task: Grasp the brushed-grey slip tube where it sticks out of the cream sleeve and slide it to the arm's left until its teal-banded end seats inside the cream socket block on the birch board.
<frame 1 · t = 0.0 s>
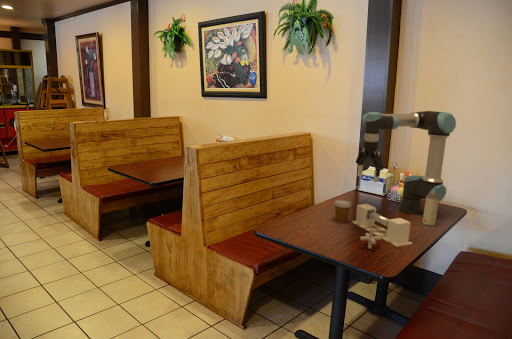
hand: (367, 179, 207), 28 cm above the table, fingers open, 13 cm apart
board: (379, 232, 205), on the table
tube: (376, 217, 207), point 7 cm above the table, slide at 0.0 cm
socket: (397, 241, 194), resting on board
sleeve: (364, 224, 216), resting on board
aerosol can: (428, 224, 220), on the table
disposable coffee cup: (341, 221, 221), on the table
pipe connector: (369, 248, 185), on the table
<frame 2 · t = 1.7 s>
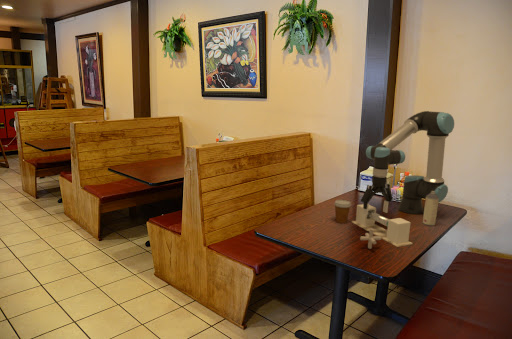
hand: (375, 213, 207), 10 cm above the table, fingers open, 13 cm apart
nothing on the table moved.
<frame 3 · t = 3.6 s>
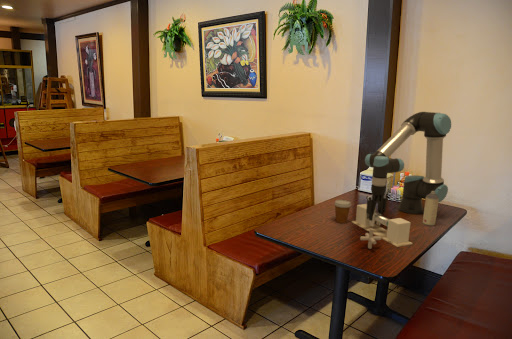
hand: (374, 225, 209), 3 cm above the table, fingers closed on tube, 4 cm apart
tube: (376, 217, 207), point 8 cm above the table, slide at 0.0 cm, touching gripper
everything else where it was.
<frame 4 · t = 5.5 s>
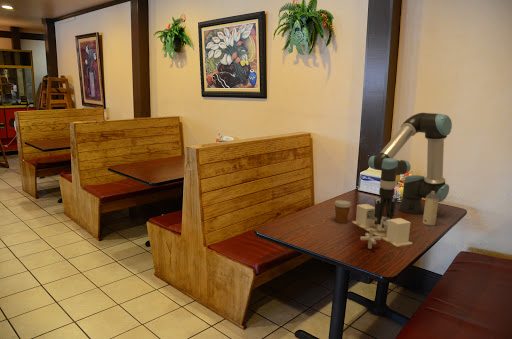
hand: (382, 229, 203), 3 cm above the table, fingers closed on tube, 4 cm apart
tube: (384, 220, 201), point 8 cm above the table, slide at 6.5 cm, touching gripper
everything else where it was.
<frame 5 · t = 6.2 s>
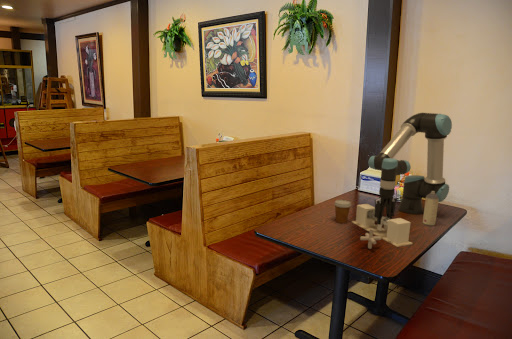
hand: (382, 229, 203), 3 cm above the table, fingers closed on tube, 4 cm apart
tube: (384, 220, 201), point 7 cm above the table, slide at 6.5 cm, touching gripper
everything else where it was.
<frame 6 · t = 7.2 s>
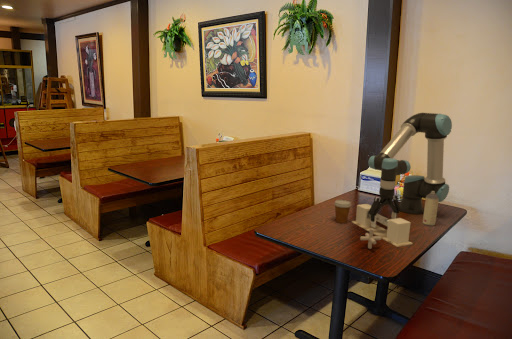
hand: (383, 225, 202), 5 cm above the table, fingers open, 13 cm apart
tube: (384, 220, 201), point 8 cm above the table, slide at 6.5 cm
everything else where it was.
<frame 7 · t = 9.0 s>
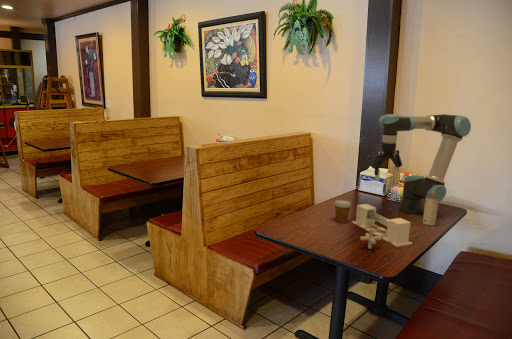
hand: (386, 179, 213), 27 cm above the table, fingers open, 13 cm apart
nothing on the table moved.
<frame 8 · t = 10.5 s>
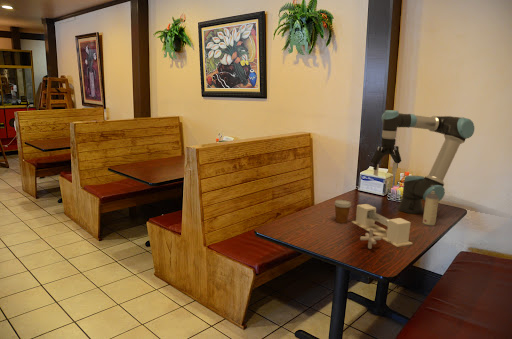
hand: (384, 174, 216), 29 cm above the table, fingers open, 13 cm apart
nothing on the table moved.
at the end: tube slide at 6.5 cm; the gripper is holding nothing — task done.
